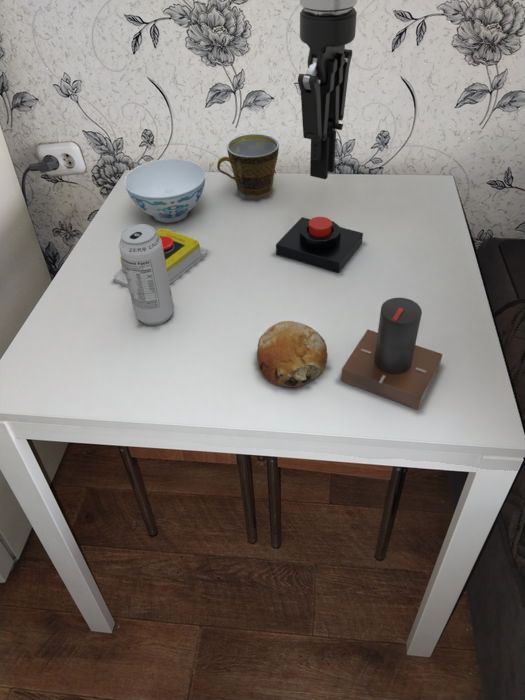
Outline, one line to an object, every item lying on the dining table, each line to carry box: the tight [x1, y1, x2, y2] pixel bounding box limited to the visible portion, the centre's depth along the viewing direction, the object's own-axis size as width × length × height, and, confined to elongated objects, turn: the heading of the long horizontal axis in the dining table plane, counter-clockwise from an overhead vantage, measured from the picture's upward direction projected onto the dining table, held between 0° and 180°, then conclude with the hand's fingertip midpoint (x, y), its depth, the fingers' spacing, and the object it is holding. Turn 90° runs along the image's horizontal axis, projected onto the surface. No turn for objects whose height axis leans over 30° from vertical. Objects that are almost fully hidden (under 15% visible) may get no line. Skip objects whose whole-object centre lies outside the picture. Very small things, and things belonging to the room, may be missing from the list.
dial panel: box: [340, 329, 443, 411], centre depth 81 cm, size 11×9×3 cm
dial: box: [374, 297, 423, 374], centre depth 77 cm, size 5×5×9 cm
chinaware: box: [123, 158, 206, 223], centre depth 112 cm, size 15×15×8 cm
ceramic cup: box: [216, 133, 280, 201], centre depth 115 cm, size 13×10×10 cm
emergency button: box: [113, 228, 208, 289], centre depth 100 cm, size 9×4×15 cm
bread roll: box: [256, 320, 328, 388], centre depth 82 cm, size 10×10×8 cm
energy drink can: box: [118, 223, 175, 326], centre depth 87 cm, size 6×6×15 cm
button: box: [308, 216, 333, 237], centre depth 101 cm, size 4×4×2 cm
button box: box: [275, 216, 364, 274], centre depth 103 cm, size 12×10×4 cm
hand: (322, 173), depth 94 cm, fingers closed
